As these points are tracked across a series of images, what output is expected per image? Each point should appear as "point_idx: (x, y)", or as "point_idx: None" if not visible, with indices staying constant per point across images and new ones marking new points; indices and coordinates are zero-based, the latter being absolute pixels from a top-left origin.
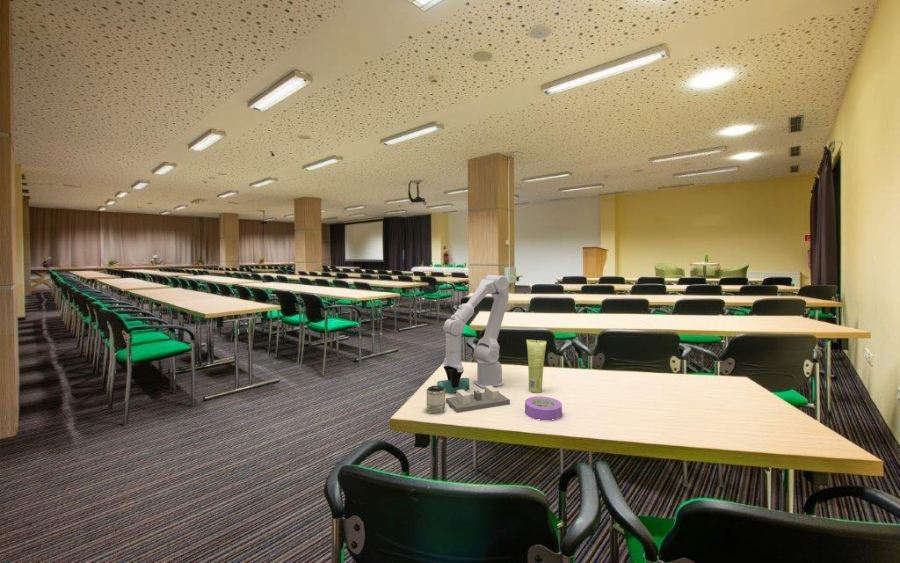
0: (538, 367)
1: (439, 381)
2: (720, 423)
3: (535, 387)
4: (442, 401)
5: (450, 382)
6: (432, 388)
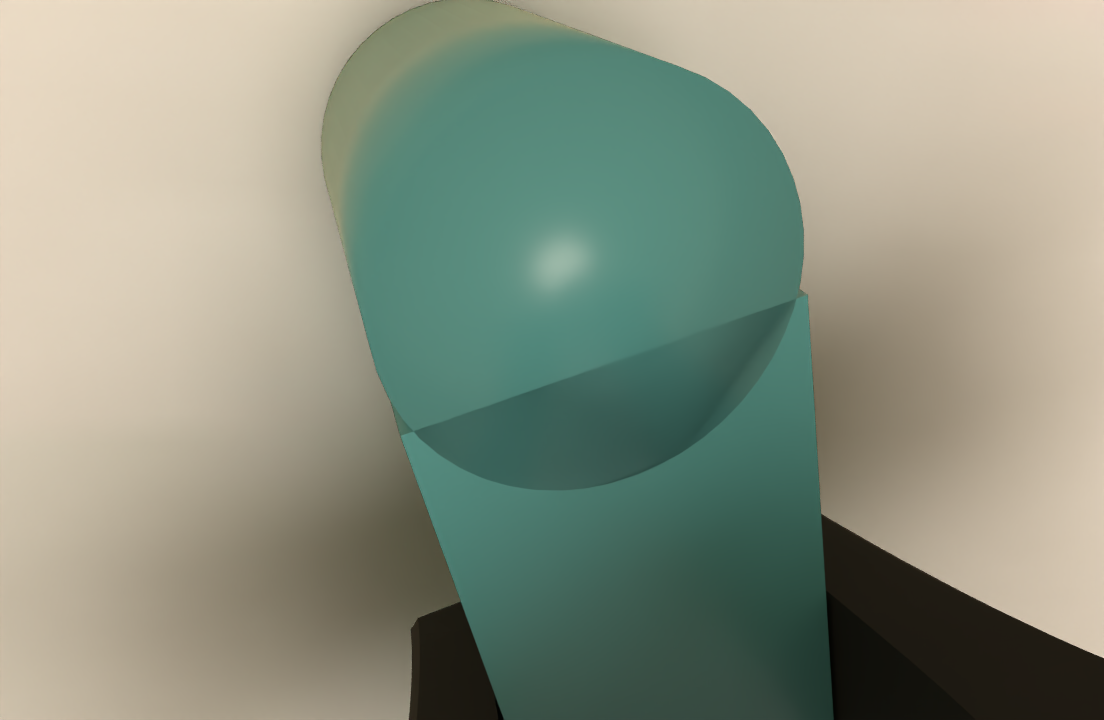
0: None
1: (715, 207)
2: None
3: None
4: None
5: (493, 688)
6: None
